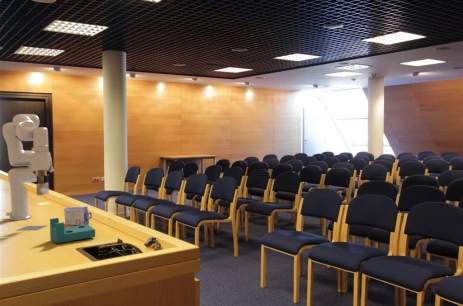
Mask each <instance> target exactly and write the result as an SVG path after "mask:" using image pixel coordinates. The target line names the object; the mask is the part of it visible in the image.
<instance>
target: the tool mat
mask: <svg viewBox="0 0 463 306" xmlns="http://www.w3.org/2000/svg"><path fill="white" fill-rule="evenodd" d="M46 227H47V225H26V226H24V227H20V228H19V229H16V230H15V231H16V232H18V231H23V232H24V231H39V230H41V229H44V228H46Z"/></svg>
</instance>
